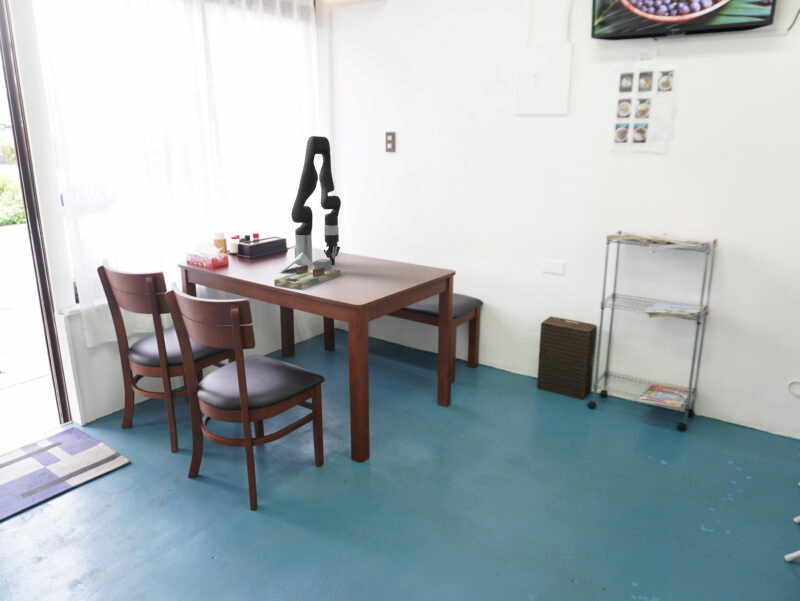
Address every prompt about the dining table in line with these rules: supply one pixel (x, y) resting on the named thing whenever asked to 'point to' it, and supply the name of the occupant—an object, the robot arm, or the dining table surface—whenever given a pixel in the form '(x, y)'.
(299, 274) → the tunnel deck
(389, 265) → the dining table surface
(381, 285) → the dining table surface
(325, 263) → the grey block
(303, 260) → the bracket
